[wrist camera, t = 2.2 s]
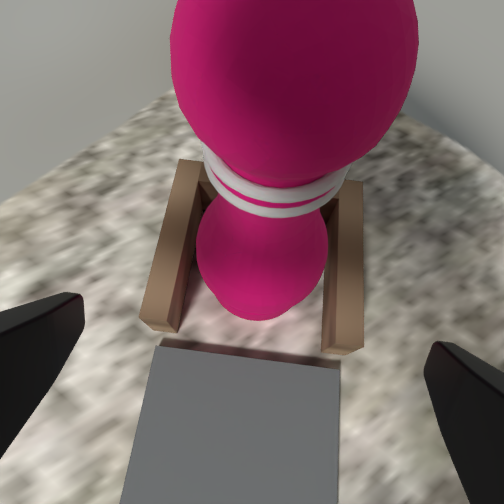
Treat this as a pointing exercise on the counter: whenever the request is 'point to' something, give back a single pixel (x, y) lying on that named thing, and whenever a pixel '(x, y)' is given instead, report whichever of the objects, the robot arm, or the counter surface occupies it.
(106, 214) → the counter surface
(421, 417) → the counter surface
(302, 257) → the pepper mill
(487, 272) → the counter surface
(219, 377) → the rubber mat
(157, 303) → the walnut cradle
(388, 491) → the counter surface
